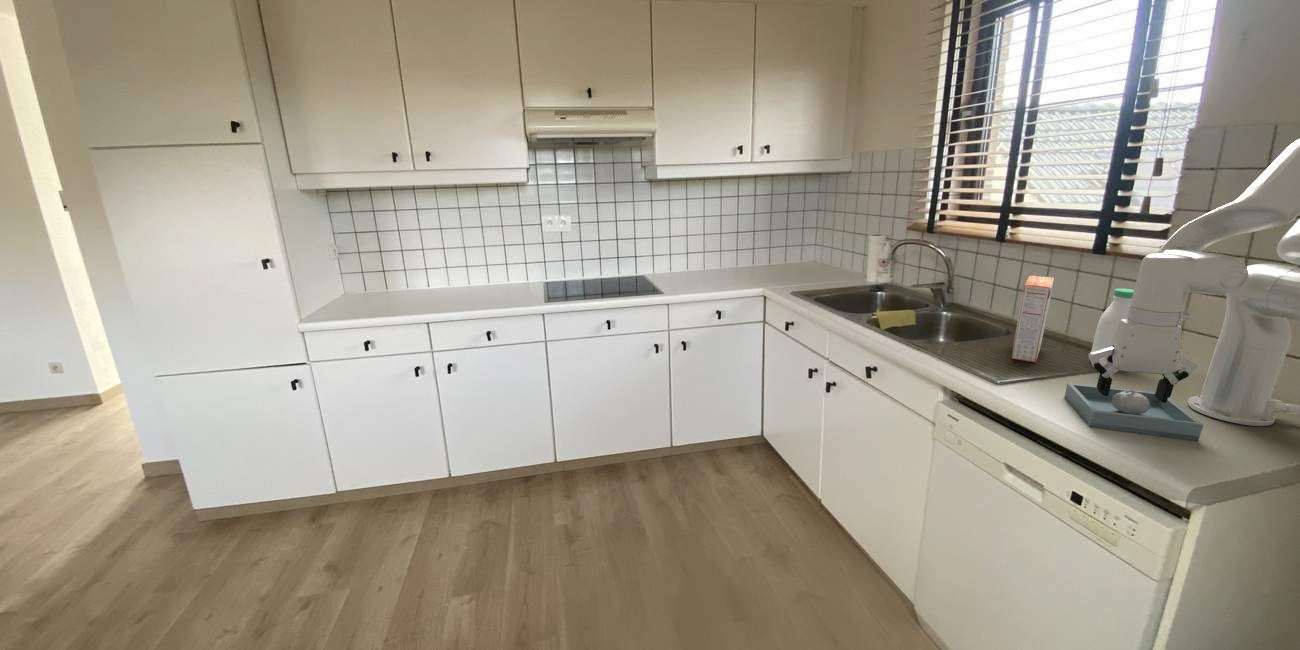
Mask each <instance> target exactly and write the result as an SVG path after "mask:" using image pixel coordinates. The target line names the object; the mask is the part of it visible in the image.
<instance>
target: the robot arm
mask: <svg viewBox="0 0 1300 650" xmlns="http://www.w3.org/2000/svg"><path fill="white" fill-rule="evenodd" d="M1299 215H1300V138H1298V139H1296V140H1295V141H1293V142H1291V144H1289V145H1288V146H1287V147H1286V148H1285V149H1284V150H1283V151H1282V152H1281V153H1280V154H1279V155H1278V156H1277V157H1276V158H1275V159H1274V160H1273V161H1272V163H1271V164H1270V165H1269V166H1268V167H1267V168H1265V170H1264V171H1263V172H1262V173H1261V174H1259V176H1258V177H1257V178H1256V179H1255V180H1254V181H1253V182H1252V183H1251V184H1250V185H1249V186H1248V187H1247V188H1246V189H1245V190H1244V191H1243V193H1241V195H1240V196H1238V197H1237V198H1236V199H1235V200H1233V201H1231V202H1229V203H1226V204H1225V205H1222V206H1220V207H1217V208H1215V209H1213V210H1211V211H1209V212H1207V213H1205V214H1202V215H1200V216H1199V217H1197V218H1195V219H1193V220H1191V221H1189V222H1187V223H1186V224H1184V225H1183V226H1181V227H1180V228H1179V229H1178V230H1176V231H1175V232H1174V233H1173V234H1172V235H1171V236H1170V237H1169V238H1168V239H1167V240H1166V241H1165V242H1164V243H1163V245H1162V246H1161V247H1159V248H1158V250H1157V252H1156V253H1150V254H1147V255H1146V256H1144V257H1143V259H1142V260H1141V263H1140V267H1139V271H1138V274H1137V278H1136V282H1135V286H1134V289H1133V290H1134V293H1133V297H1132V301H1131V304H1130V308H1129V312H1128V316H1127V319H1121V321H1120V322H1119V324H1118V326H1117V328H1116V330H1115V332H1114V334H1113V336H1112V339H1111V341H1110V344H1109V347H1108V348H1105V349H1102V350H1099V351H1095V352H1092V353H1091V352H1089V353H1088V355H1087V356H1088V359H1089V362H1090V363H1091V366H1092V367H1093V368H1094V369H1095V370H1096V372H1098V374H1099V376H1098V380H1097V384H1096V386H1097V389H1098V391H1099V392H1100V393H1101V394H1102V395H1103V396H1108V395H1109V391H1110V388H1112V384H1113V383H1112V382H1113V378H1112V377H1111V376H1113V375H1114V374H1116V373H1117V372H1119V371H1121V372H1122V371H1123V372H1134V373H1141V374H1142V373H1143V374H1151V375H1161V376H1162V378H1160V379H1159V380H1158V383H1157V386H1156V389H1155V392H1154V393H1155V397H1156V398H1157V399H1159V400H1160V401H1161V402H1164V403H1166V402H1167V400H1168V398H1170V399H1171V396H1172V392H1173V389H1174V386H1175V385H1178V384H1179V382H1181V381H1183V380H1184V379H1187V378H1188V377H1189V376H1190V374H1192V372H1194V371H1195V370H1197V368H1198V366H1199V365H1198V364H1197V363H1195V362H1194V361H1192V360H1190V359H1188V358H1186V357H1184V356H1183V355H1181V348H1182V337H1183V333H1182V332H1183V330H1182V329H1183V328H1182V326H1181V322H1182V321H1189V319H1190V317H1191V316H1190V313H1187V312H1184V307H1185V304H1186V300H1187V298H1188V297H1187V296H1188V294H1189V293H1195V294H1204V295H1212V296H1213V295H1214V296H1215V295H1216V296H1217V295H1225V294H1226V306H1225V314H1224V320H1223V323H1222V327H1221V330H1220V334H1219V337H1218V339H1217V342H1216V345H1215V348H1214V352H1213V355H1212V357H1211V361H1210V364H1209V368H1208V370H1207V374H1206V376H1205V379H1204V384H1203V386H1202V390H1201V393H1200V395H1194V396H1193V395H1192V396H1190V397H1188V401H1187V405H1188V406H1189V407H1190V408H1191V409H1192V410H1194V411H1196V412H1198V413H1200V414H1203V415H1204V416H1207V417H1210V418H1213V419H1217V420H1220V421H1223V422H1227V423H1228V422H1229V423H1234V424H1239V425H1244V426H1252V427H1267V426H1271V425H1273V424H1274V423H1275V420H1276V416H1275V415H1274V414H1278V413H1279V412H1280V413H1285V414H1291V415H1292V414H1293V415H1298V414H1300V405H1299V404H1295V403H1294V404H1293V403H1283V401H1282V400H1280V399H1273V398H1272V394H1273V391H1274V388H1275V386H1276V383H1277V380H1278V378H1279V375H1280V372H1281V369H1282V367H1283V364H1284V362H1285V358H1286V356H1287V353H1288V350H1289V348H1290V345H1291V343H1292V329H1291V325H1290V322H1289V320H1291V321H1292V320H1293V321H1296V322H1300V267H1297V266H1300V218H1299V219H1298V220H1296V222H1295V223H1294V224H1293V225H1292V226H1291V227H1290V228H1289V229H1288V231H1287V232H1286V233H1285V234H1284V235H1283V236H1282V237H1281V239H1280V240H1279V242H1278V244H1277V246H1276V253H1277V255H1278V257H1279V258H1281V260H1283V261H1285V262H1287V263H1289V264H1292V265H1293V264H1294V265H1297V266H1291V265H1283V264H1278V263H1277V264H1276V263H1257V264H1256V263H1255V264H1251V265H1247V264H1246V263H1245V262H1243V261H1242V260H1240V259H1238V258H1237V257H1234V256H1230V255H1227V254H1226V255H1225V254H1222V253H1221V254H1220V253H1214V252H1209V251H1204V250H1205V249H1207V248H1208V247H1210V246H1212V245H1214V244H1216V243H1218V242H1220V241H1222V240H1226V239H1228V238H1231V237H1232V238H1233V237H1235V236H1239V235H1244V234H1248V233H1255V232H1260V231H1265V230H1269V229H1274V228H1277V227H1281V226H1284V225H1288V224H1289V223H1291V222H1292V221H1294V220H1295V219H1296V218H1297V217H1298V216H1299ZM1103 357H1105V360H1106V361H1107V362H1108V363H1106V364H1105V365H1103V366H1102V365H1101V364H1100V361H1099V360H1100V358H1103ZM1178 363H1179V364H1181V365H1182V367H1181V368H1180V369H1177V367H1178Z"/></svg>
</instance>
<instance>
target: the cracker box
mask: <svg viewBox="0 0 1300 650" xmlns="http://www.w3.org/2000/svg"><path fill="white" fill-rule="evenodd" d="M1054 280H1055V278H1054V277H1051V276H1050V277H1049V276H1039V275H1029V276H1028V278H1027V280H1026V282H1025V284H1024V286H1023V292H1022V296H1021V301H1020V302H1021V303H1020V307H1019V312H1018V313H1019V314H1018V317H1017V324H1016V330H1015V335H1014V341H1013V348H1012V351H1011V353H1012V354H1011V359H1013V360H1018V361H1024V362H1029V363H1037V360H1038V357H1039V353H1040V350H1041V346H1042V342H1043V336H1044V332H1045V327H1046V324H1047V323H1046V322H1047V317H1048V313H1049V307H1050V303H1051V298H1052V293H1053V285H1054Z"/></svg>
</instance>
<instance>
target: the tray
mask: <svg viewBox="0 0 1300 650" xmlns="http://www.w3.org/2000/svg"><path fill="white" fill-rule="evenodd" d="M1127 390H1128V389H1126V388H1125V389H1124V388H1117V387H1116V388H1114V387H1110V391H1109V395H1108V396H1103V395H1102V394H1101V393H1100V392H1099V391H1098V389H1097V385H1088V384H1079V383H1078V384H1077V383H1070V382H1069V383H1067V385H1066V388H1065V392H1064V399H1065V400H1066V401H1067V403H1069V405H1070V406H1071V407H1072V408H1073V410H1075V412H1076V413H1077V415H1079V417H1080V418H1081V419H1082V420H1083V421H1084V422H1085V423H1086V424H1087V426H1088V427H1089V428H1095V429H1099V430H1100V429H1101V430H1108V431H1114V432H1115V431H1117V432H1123V431H1125V432H1124V433H1131V432H1132V434H1139V433H1141V435H1146V434H1147V435H1148V436H1154V435H1155V436H1156V437H1162V438H1163V437H1164V438H1171V439H1177V440H1178V439H1179V440H1185V441H1186V440H1187V441H1194V442H1198V441H1199V440H1200V436H1201V433H1202V431H1203V428H1204V424H1203V423H1202V422H1201V421H1200V420H1198V419H1197V418H1195V417H1194V416H1193V415H1192V414H1190V413H1189V412H1188V411H1187V410H1185V409H1184V408H1182V407H1181V405H1179V404H1177V403H1176V402H1175V401H1174V400H1173V399H1171V397H1170V398H1168V400H1167V402H1166V403H1164V402H1161V401H1160V400H1159V399H1157V398H1156V397H1155V393H1156V392H1152V391H1144V390H1135V389H1134V390H1133V389H1132V390H1133V391H1134V392H1136V393H1139V394H1141V395H1143V396H1145V397H1146V398H1148V400H1149V403H1150V407H1149V410H1148V411H1147V412H1145V413H1143V414H1140V415H1131V414H1125V413H1123V412H1121V411H1119V410H1117V409H1116V408H1114V407H1113V405H1112V397H1113V396H1114V395H1115V394H1117V393H1120V392H1124V391H1127ZM1147 435H1146V436H1147Z"/></svg>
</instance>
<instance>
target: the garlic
mask: <svg viewBox="0 0 1300 650" xmlns="http://www.w3.org/2000/svg"><path fill="white" fill-rule="evenodd" d="M1126 390H1127V391H1124V392H1120V393H1117V394H1115V395H1114V396H1113V397H1112V405H1113V407H1114V408H1116V409H1117V410H1119V411H1121V412H1123V413H1125V414H1131V415H1140V414H1143V413H1145V412H1147V411H1148V410H1149V407H1150V403H1149V400H1148V398H1146V397H1145V396H1143V395H1141V394H1139V393H1136V392H1134V391H1133V389H1126Z"/></svg>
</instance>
